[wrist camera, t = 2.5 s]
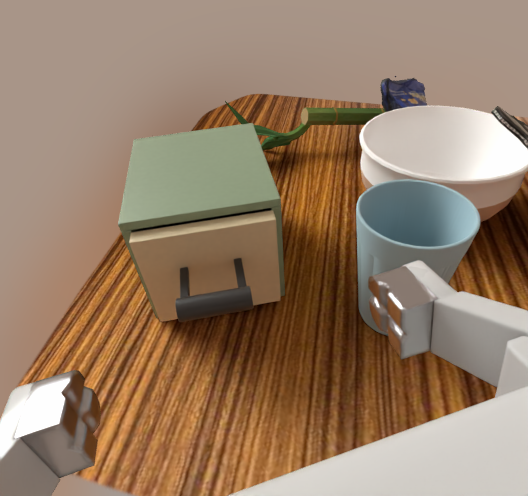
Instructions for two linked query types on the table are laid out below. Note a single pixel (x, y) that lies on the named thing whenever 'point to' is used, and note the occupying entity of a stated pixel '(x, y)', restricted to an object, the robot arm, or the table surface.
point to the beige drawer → (209, 265)
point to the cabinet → (198, 182)
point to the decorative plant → (314, 122)
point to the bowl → (446, 153)
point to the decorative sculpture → (512, 125)
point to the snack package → (402, 94)
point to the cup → (411, 231)
